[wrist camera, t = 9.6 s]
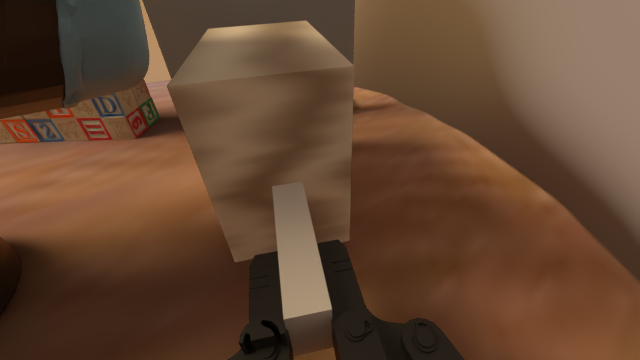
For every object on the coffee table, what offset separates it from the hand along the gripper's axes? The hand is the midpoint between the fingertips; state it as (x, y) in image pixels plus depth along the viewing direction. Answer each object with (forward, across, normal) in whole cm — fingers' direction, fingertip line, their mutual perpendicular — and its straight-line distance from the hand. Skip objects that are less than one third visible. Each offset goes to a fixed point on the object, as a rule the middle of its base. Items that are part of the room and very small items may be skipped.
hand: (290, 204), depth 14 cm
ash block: (+9, 0, -6) cm, 11 cm away
